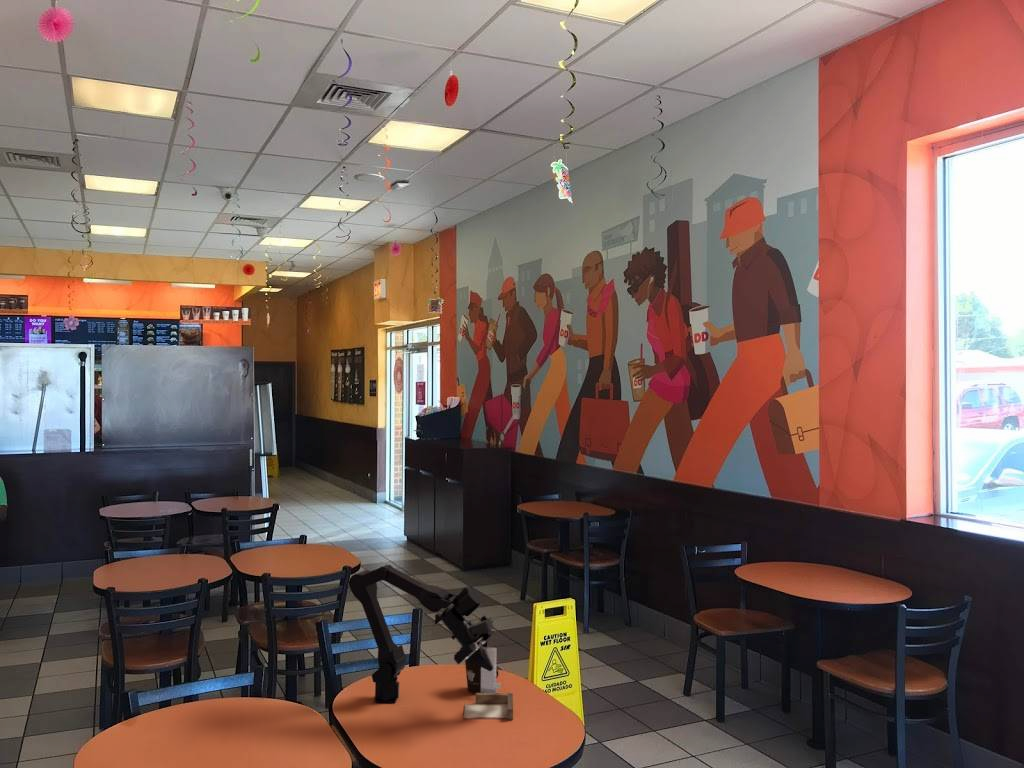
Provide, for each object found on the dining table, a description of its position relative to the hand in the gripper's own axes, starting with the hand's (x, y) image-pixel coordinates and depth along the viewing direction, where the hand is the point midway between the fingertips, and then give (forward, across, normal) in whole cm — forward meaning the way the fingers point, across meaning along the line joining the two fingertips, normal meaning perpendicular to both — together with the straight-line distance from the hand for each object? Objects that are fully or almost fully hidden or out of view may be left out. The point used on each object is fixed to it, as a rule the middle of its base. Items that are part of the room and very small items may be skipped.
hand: (493, 668), depth 230 cm
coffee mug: (+3, +16, +16) cm, 23 cm away
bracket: (+4, +2, +6) cm, 7 cm away
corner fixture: (+8, +2, +11) cm, 14 cm away
